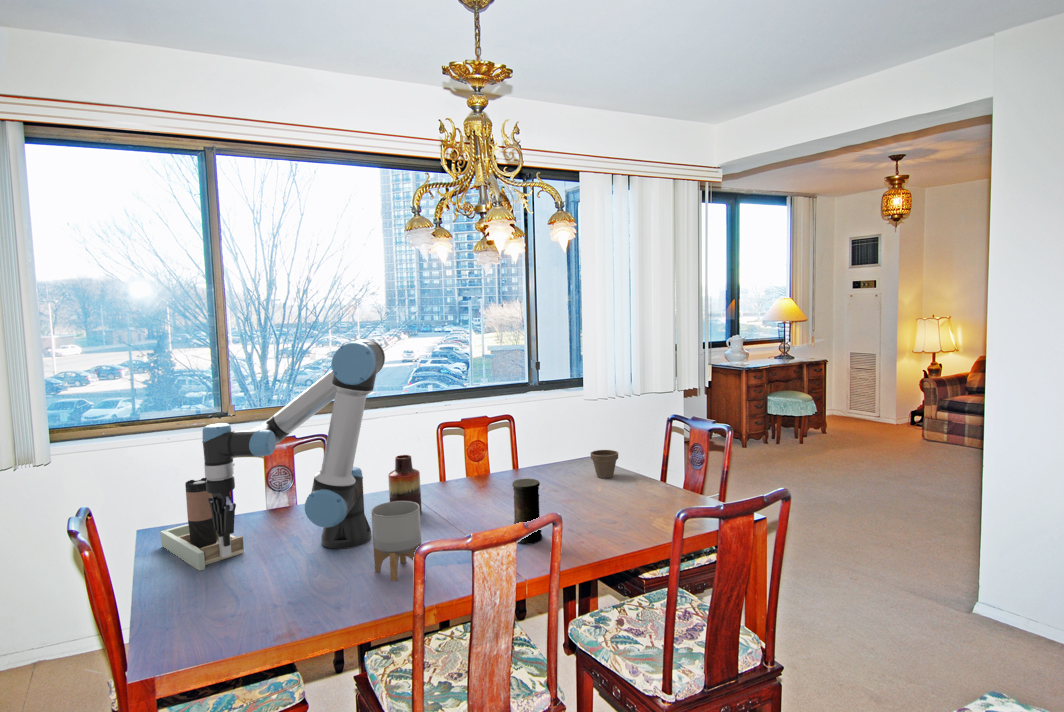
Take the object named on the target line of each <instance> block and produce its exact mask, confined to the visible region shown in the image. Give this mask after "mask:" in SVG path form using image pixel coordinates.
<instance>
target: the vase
mask: <svg viewBox="0 0 1064 712" xmlns="http://www.w3.org/2000/svg"><path fill="white" fill-rule="evenodd" d="M394 461H395V462H394V470H392V471H390V472H389V473H388V475H387V478H388V495H389V502H393V501H411V502H415V503H417V504H419V506H420V515H421V514H422V497H421V496H422V492H421V491H422V490H421V473H420V471H419V470H418V469H415V468H413V459H412V455H409V454H401V455H397V456H395V460H394Z"/></svg>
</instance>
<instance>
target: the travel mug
mask: <svg viewBox="0 0 1064 712" xmlns="http://www.w3.org/2000/svg"><path fill="white" fill-rule="evenodd" d="M206 480H207V478H205V477H202V478H201V479H198V480H195V479H190V480H188V481H185V497H186V499H185V500H186V512H187V524H188V525H189V533H190V542H191V544H192V545H194V546H196V547H198V548H199V549H200V548H203V547H206V546H209V545H213V544H216V542H217V535H216V531H215V530H214V525H213V519H212V513H211V508H210V504H209V501H208V498H211V497H212V494H211V493H208V492H207V491H206Z"/></svg>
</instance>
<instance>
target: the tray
mask: <svg viewBox="0 0 1064 712" xmlns="http://www.w3.org/2000/svg"><path fill="white" fill-rule="evenodd" d="M216 535H217V542H216V544H213V545H209V546H206V547H203V548H200V549H199V548H198V547H196V546H194V545H193V546H194V547H196V548H198V549H199V550H201V551H203V552H204V560H205V566H206V565H210V564H213V563H216V562H219V561H222V560H225V559H229V558H232V557H235V556H238V555H241V554H244V553H245V546H244V537H243V536H242V535H240V536H235V535H234V534H230V540H231V554H232V555H230V556H227V557H224V558H221V557H220V549H219V536H218V535H219V534H217V531H216ZM179 538H180V539H182V540H184V541H186V542H187V543H189V544H191V542H190V534H186V535H182V536H179ZM191 545H192V544H191Z"/></svg>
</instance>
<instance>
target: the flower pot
mask: <svg viewBox="0 0 1064 712" xmlns="http://www.w3.org/2000/svg"><path fill="white" fill-rule="evenodd" d="M590 459H591V461H593V465H594V470H595V473H596V476H597V478H599V479H611V478H613V477H614V474H615V469H616V463H617V460H618V459H619V452H618V451H616V450H613V449H598V450H597V449H596V450H593V451H591V452H590Z"/></svg>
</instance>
